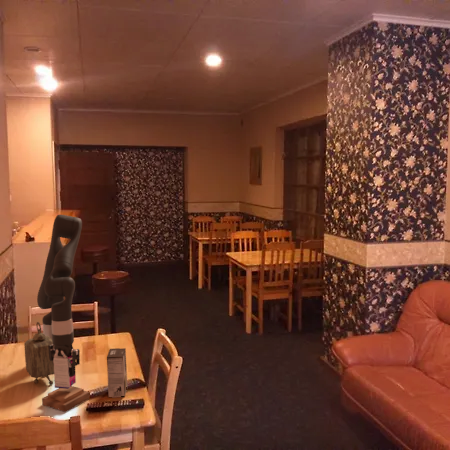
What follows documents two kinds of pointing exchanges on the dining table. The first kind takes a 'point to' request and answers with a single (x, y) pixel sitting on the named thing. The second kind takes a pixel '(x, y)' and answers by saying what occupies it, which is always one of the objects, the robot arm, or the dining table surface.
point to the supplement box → (62, 373)
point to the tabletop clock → (39, 356)
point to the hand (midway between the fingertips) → (65, 374)
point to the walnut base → (65, 405)
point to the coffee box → (117, 372)
